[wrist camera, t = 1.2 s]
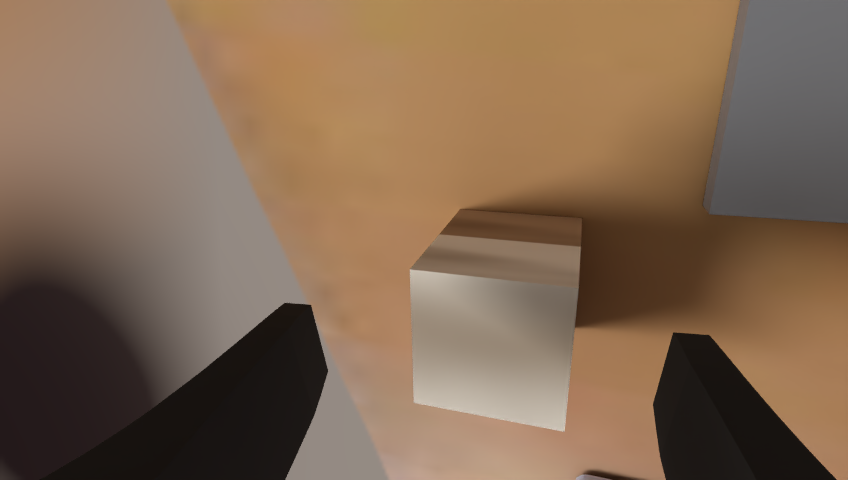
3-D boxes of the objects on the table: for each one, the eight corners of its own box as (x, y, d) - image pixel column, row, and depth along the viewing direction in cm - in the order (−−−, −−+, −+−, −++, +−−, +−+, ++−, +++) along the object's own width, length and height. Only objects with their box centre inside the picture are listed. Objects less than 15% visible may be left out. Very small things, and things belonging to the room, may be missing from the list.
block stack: (571, 327, 19) (564, 431, 14) (459, 312, 21) (413, 402, 15) (582, 217, 18) (578, 288, 12) (460, 209, 19) (409, 269, 14)
